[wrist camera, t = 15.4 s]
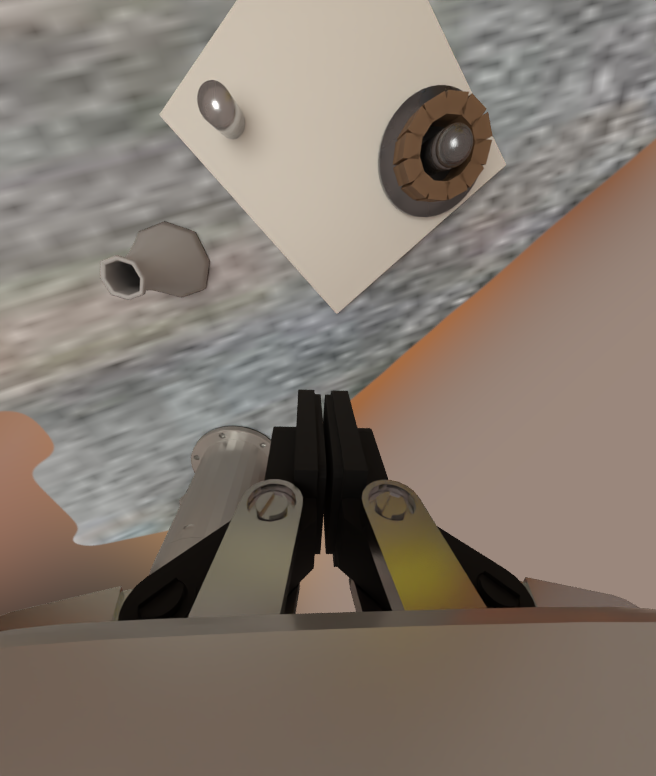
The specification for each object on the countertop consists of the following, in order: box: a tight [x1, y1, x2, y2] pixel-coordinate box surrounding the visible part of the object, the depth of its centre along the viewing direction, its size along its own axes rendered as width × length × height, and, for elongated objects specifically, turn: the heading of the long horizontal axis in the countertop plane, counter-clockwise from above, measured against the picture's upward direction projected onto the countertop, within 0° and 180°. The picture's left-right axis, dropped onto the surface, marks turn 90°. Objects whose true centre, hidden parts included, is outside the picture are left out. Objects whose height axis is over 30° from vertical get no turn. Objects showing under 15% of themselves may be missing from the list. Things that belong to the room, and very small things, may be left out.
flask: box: [100, 221, 210, 300], centre depth 27 cm, size 7×7×10 cm
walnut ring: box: [393, 90, 492, 202], centre depth 25 cm, size 6×6×4 cm
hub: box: [378, 85, 478, 217], centre depth 24 cm, size 9×9×7 cm
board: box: [160, 0, 506, 314], centre depth 27 cm, size 20×22×2 cm
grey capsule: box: [197, 80, 245, 139], centre depth 23 cm, size 2×2×4 cm
